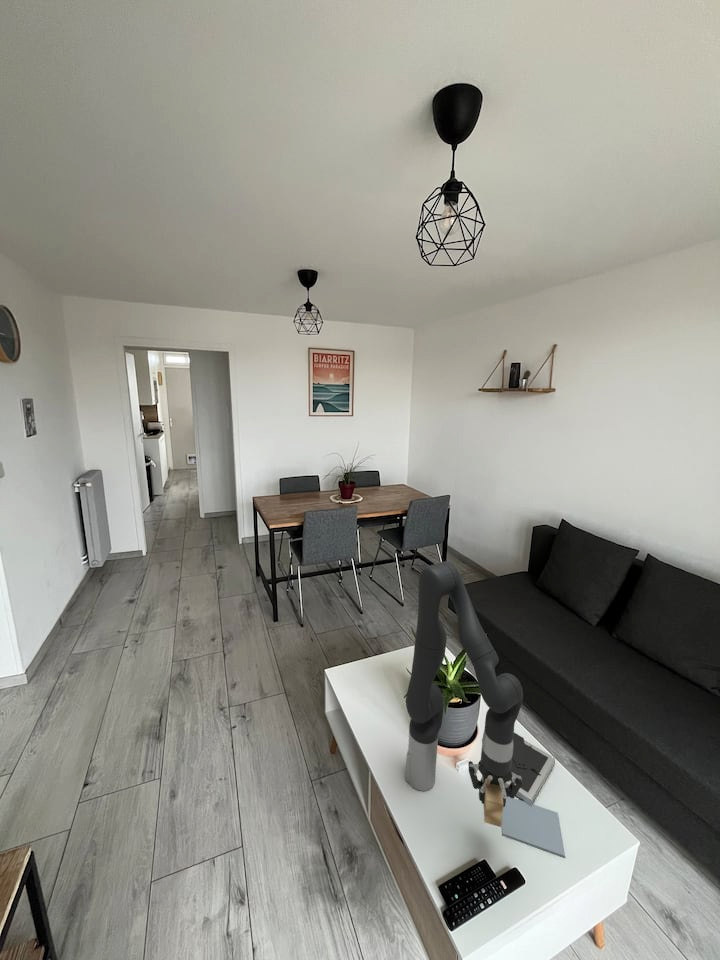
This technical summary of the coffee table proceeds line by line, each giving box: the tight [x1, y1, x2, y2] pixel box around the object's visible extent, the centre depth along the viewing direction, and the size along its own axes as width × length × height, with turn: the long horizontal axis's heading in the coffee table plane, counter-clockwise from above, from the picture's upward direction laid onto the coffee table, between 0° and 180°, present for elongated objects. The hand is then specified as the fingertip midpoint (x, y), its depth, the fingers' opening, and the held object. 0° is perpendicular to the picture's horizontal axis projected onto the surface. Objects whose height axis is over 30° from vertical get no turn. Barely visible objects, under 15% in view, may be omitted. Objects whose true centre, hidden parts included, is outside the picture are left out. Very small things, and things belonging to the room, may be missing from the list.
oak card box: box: [483, 784, 503, 828], centre depth 100 cm, size 4×10×7 cm, turn 165°
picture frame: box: [505, 732, 556, 805], centre depth 126 cm, size 16×3×21 cm
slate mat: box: [501, 797, 566, 858], centre depth 109 cm, size 16×12×1 cm
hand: (491, 802), depth 100 cm, fingers closed on oak card box, 4 cm apart
